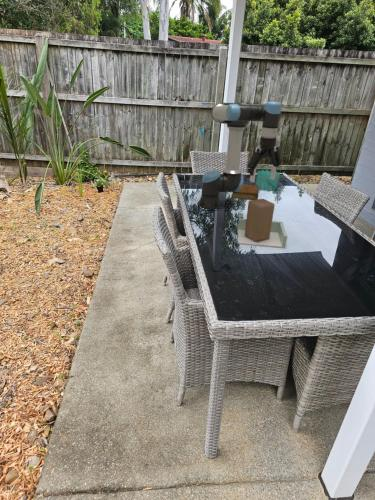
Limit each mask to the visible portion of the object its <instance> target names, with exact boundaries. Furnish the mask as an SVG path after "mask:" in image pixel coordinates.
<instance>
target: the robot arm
mask: <svg viewBox="0 0 375 500" xmlns="http://www.w3.org/2000/svg"><path fill="white" fill-rule="evenodd" d="M210 110H211V112H210V116H211V119H212V120H213V121H215V122H216V123H218V124H224V125H226V127H227V129H228V139H227V140H228V141H227V148H226V149H227V150H226V162H225V169H223V171H222V173H221V172H220V171H213V170H212V171H208V172H204V173H203V175H202V180H201V196H200V198H199V201H198V205H199V207H201V208H204V209H209V210H215V209H219V208H220V207H221V206H222V204H221V201H220V193H233V192H237V191H240V189H241V188H242V186H243V184H244V175H243V174H242V171H241V170H240V164H241V163H240V162H241V153H242V146H243V135H244V130H245V129H246V128H247V125H249V123H250V122H261V123H262V124H261V133H260V136H261V137H260V138H259V139H260V140H259V145H260V146H259V147H255V148H254V150H253V154H252V155H251V157H250V160H249V161H248V164H247V168H249V176H250V177H249V182H251V183H255V182H256V180H255V179H256V175H257V166H258V165H259V163H260V162H261V160H262V159H264V158H269V159H270V162H271V164H272V165H271V169H270V171H271V174H270V179H273V180H274V179H275V173H276V172H278V171H277V170H278V168H279V167H280V166H281V165H282V160H281V157H280V151H279V150H280V147H279V146H277V145H276V143H277V136H278V130H279V125H280V120H281V119H280V118H281V114H282V103H281V102H280V101H266V102H265V104H262V103H261V104H247V103H243V102H220V103H217V104H215V105H213V107H212V108H211V109H210ZM198 205H197V206H198ZM199 207H198V208H199ZM220 209H221V208H220ZM220 209H219V210H220ZM215 211H216V210H215Z"/></svg>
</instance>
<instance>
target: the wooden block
mask: <svg viewBox="0 0 375 500" xmlns="http://www.w3.org/2000/svg"><path fill="white" fill-rule="evenodd" d="M274 212H275V203H273V202H272V201H269V200H267V199H265V198H258V199H257V200H248V205H247V212H246V218H245V219H246V227H245V235H246V236H247V237H249V238H250V239H252V240H253V241H260V240H265V239H269V237H270V231H271V225H272V221H273V218H274Z"/></svg>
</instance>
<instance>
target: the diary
mask: <svg viewBox="0 0 375 500" xmlns="http://www.w3.org/2000/svg"><path fill="white" fill-rule="evenodd" d="M232 195H233V197H232V196H231V199H234V198H238V199H237V200H246V201H247V200H248V201H250V200H257V199H259V189H258V186H257V185H256V184H246V183H245V184H244V183H243V186H242V188H241V189H240V191H237V192H232Z"/></svg>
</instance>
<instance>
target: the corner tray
mask: <svg viewBox="0 0 375 500" xmlns="http://www.w3.org/2000/svg"><path fill="white" fill-rule="evenodd" d="M246 219H247V218H238V223H237V224H238V226H237V244H238V245H244V246H252V247H253V246H254V247H265V248H275V249H277V248H278V249H286V246H287V241H288V240H287V238H288V235H287V232H286V229H285V225H284V222H283V221H279V220H278V221H276V220H274V221H273V220H272V225H271V231H270V237H269V239H265V240H260V241H253V240H252V239H250V238H249V237H247V236H246V235H245V227H246Z"/></svg>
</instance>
